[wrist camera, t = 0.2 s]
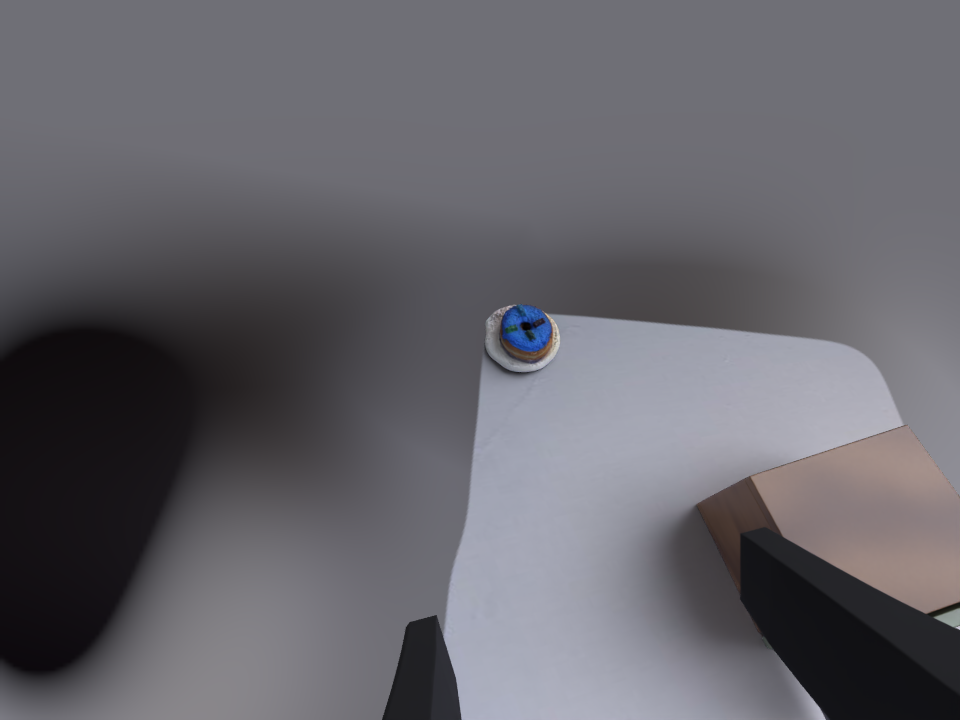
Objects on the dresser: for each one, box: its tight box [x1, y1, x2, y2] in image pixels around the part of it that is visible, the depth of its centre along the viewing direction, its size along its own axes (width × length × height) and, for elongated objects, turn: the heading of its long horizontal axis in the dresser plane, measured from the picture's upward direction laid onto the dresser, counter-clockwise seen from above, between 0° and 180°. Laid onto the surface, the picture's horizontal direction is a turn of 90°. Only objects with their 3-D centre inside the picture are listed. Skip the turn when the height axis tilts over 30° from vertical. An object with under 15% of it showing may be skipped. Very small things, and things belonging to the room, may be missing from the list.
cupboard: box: [697, 425, 960, 633], centre depth 35 cm, size 10×12×11 cm
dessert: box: [485, 304, 560, 372], centre depth 49 cm, size 8×7×6 cm
